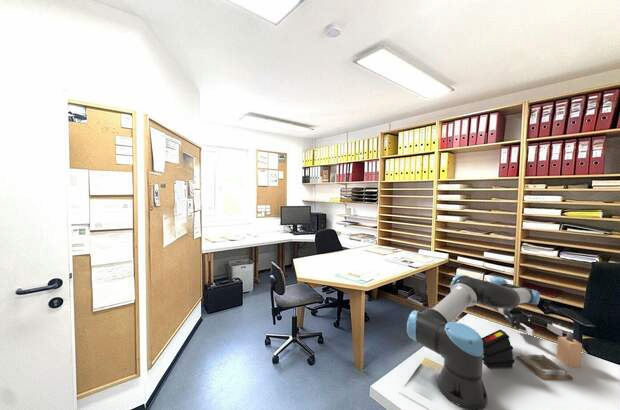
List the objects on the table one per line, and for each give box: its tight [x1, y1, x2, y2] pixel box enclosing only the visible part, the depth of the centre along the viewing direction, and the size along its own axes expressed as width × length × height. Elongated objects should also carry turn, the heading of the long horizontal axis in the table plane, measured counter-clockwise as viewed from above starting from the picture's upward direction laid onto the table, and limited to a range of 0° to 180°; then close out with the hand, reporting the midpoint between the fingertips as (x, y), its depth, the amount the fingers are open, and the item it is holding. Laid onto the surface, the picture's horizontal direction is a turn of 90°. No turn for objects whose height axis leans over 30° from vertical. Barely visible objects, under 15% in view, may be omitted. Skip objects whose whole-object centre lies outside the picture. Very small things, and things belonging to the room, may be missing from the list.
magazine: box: [481, 328, 516, 369], centre depth 101 cm, size 4×13×15 cm, turn 92°
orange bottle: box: [556, 331, 583, 367], centre depth 103 cm, size 5×5×13 cm
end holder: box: [515, 354, 574, 381], centre depth 100 cm, size 12×12×2 cm
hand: (547, 333), depth 113 cm, fingers open, 13 cm apart
